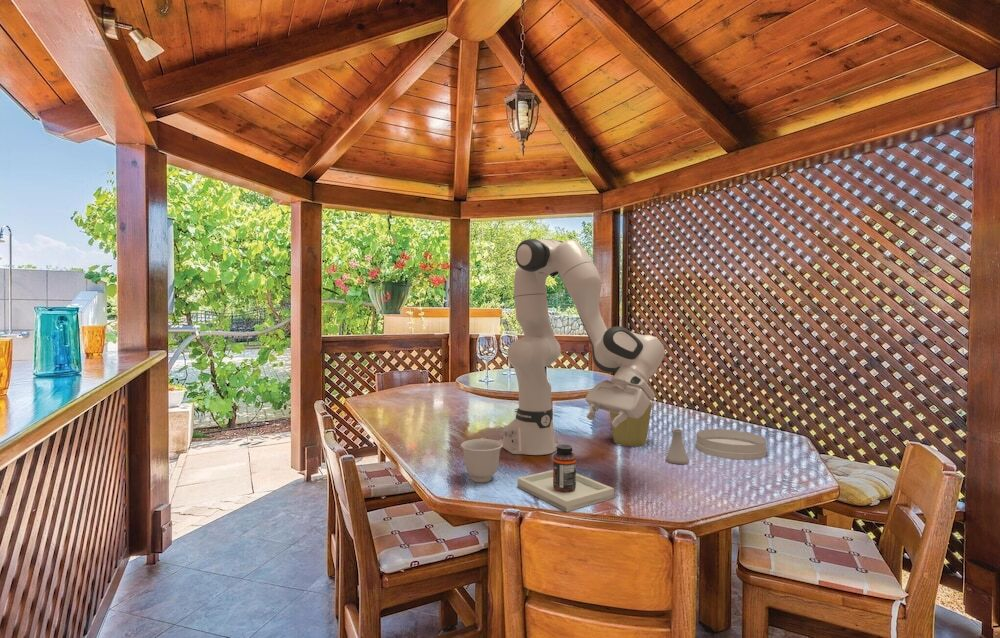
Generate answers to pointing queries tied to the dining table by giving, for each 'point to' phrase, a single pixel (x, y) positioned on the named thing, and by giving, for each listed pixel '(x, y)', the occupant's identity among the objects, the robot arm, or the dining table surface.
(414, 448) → the dining table surface
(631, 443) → the potted cactus
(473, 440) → the teacup
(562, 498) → the tray
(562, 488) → the supplement bottle
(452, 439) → the dining table surface
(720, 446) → the dish
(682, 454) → the flask
